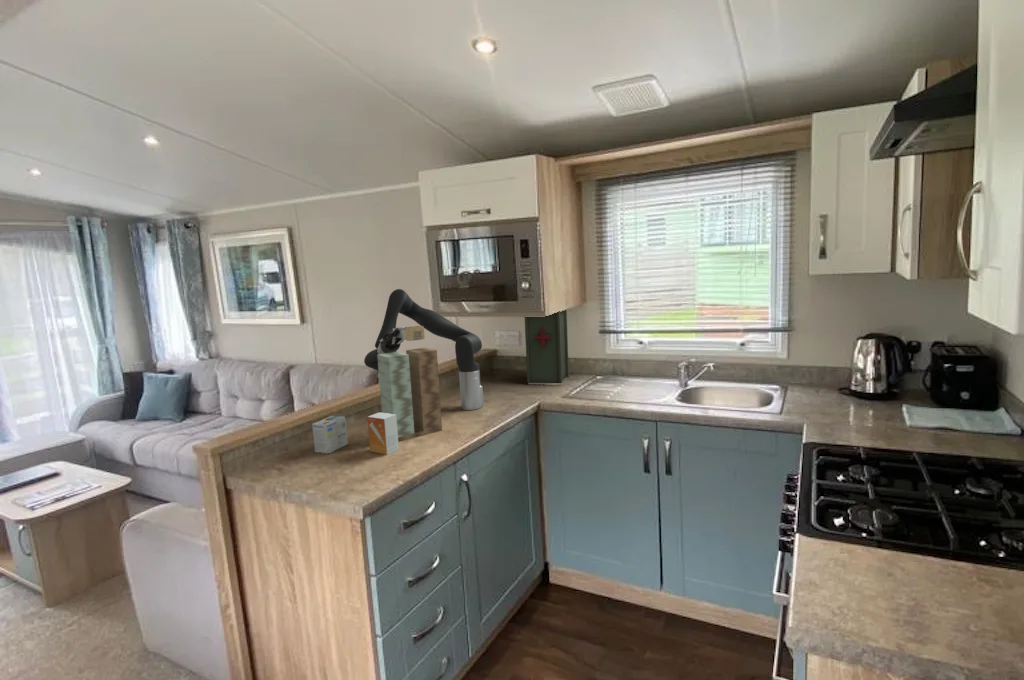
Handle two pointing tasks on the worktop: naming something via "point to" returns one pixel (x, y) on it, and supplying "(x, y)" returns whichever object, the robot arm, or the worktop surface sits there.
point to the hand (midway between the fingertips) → (402, 329)
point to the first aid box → (547, 348)
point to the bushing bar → (411, 333)
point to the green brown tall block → (411, 391)
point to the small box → (383, 433)
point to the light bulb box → (330, 434)
